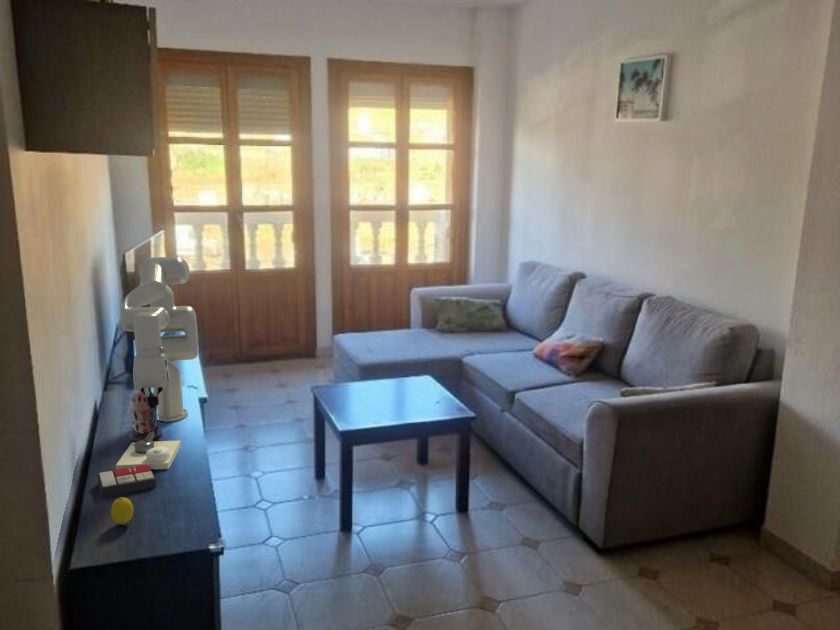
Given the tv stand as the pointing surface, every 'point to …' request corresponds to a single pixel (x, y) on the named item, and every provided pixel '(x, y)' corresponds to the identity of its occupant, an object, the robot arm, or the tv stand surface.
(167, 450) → the base
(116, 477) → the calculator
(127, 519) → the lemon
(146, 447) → the gray scoop
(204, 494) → the tv stand surface
